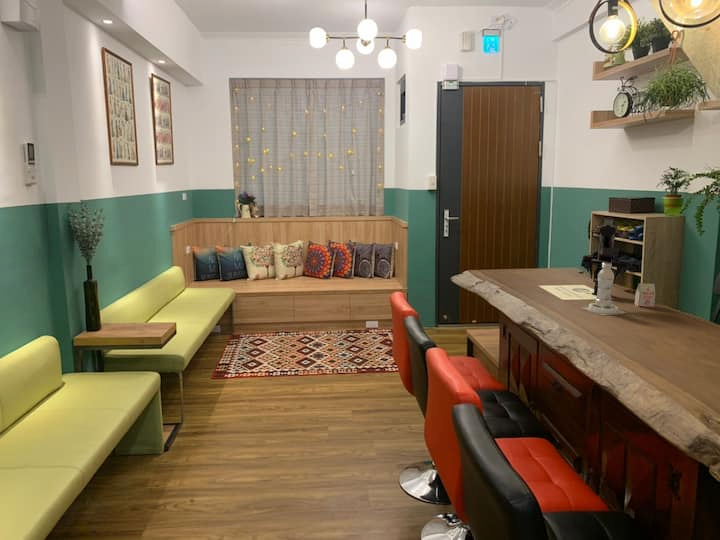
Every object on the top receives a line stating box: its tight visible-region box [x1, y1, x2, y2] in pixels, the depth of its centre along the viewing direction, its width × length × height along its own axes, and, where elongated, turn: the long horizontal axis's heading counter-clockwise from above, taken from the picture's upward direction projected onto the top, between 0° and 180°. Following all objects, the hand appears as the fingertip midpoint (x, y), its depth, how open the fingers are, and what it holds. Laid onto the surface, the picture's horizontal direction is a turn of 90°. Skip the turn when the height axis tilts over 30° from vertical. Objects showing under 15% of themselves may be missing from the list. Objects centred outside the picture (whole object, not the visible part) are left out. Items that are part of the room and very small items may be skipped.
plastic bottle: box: [594, 262, 615, 309], centre depth 240 cm, size 6×7×20 cm
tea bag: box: [634, 283, 656, 308], centre depth 251 cm, size 4×7×10 cm, turn 89°
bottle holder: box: [579, 302, 628, 317], centre depth 242 cm, size 13×13×2 cm
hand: (602, 280), depth 248 cm, fingers open, 9 cm apart
